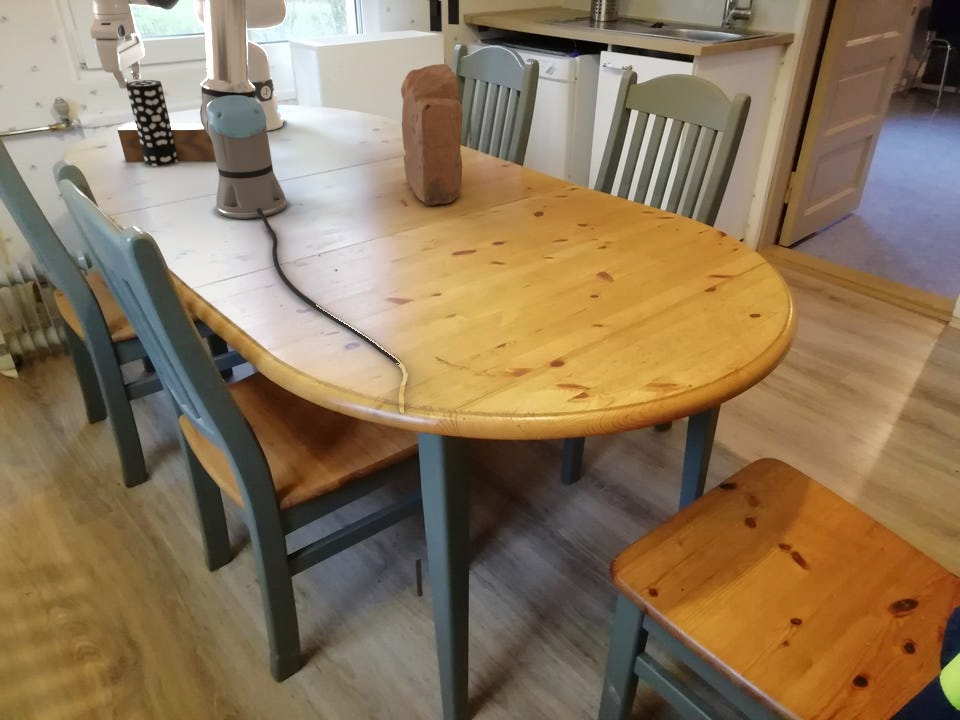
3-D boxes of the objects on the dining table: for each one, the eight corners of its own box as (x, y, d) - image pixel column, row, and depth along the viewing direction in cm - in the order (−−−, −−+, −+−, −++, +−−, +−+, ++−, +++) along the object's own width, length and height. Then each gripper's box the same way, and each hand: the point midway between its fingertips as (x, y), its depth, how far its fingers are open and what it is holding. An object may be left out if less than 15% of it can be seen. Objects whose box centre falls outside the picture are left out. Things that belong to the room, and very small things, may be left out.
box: (221, 154, 193) (215, 123, 188) (215, 161, 188) (209, 129, 183) (134, 155, 192) (126, 123, 187) (125, 161, 186) (117, 129, 182)
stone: (471, 203, 161) (470, 74, 147) (425, 208, 158) (419, 77, 144) (446, 179, 178) (443, 61, 164) (404, 183, 175) (396, 64, 161)
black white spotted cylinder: (184, 157, 190) (167, 80, 179) (169, 166, 183) (151, 87, 172) (155, 156, 190) (136, 79, 179) (139, 165, 183) (119, 86, 172)
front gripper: (445, -75, 170) (446, 21, 181) (408, -74, 149) (412, 33, 161) (474, -74, 168) (474, 22, 179) (441, -74, 148) (443, 35, 159)
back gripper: (118, 17, 179) (132, 74, 187) (86, 32, 163) (103, 93, 170) (143, 18, 180) (156, 74, 188) (114, 32, 163) (129, 93, 171)
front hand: (445, 27), depth 170 cm, fingers open, 13 cm apart
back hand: (131, 83), depth 179 cm, fingers open, 8 cm apart
